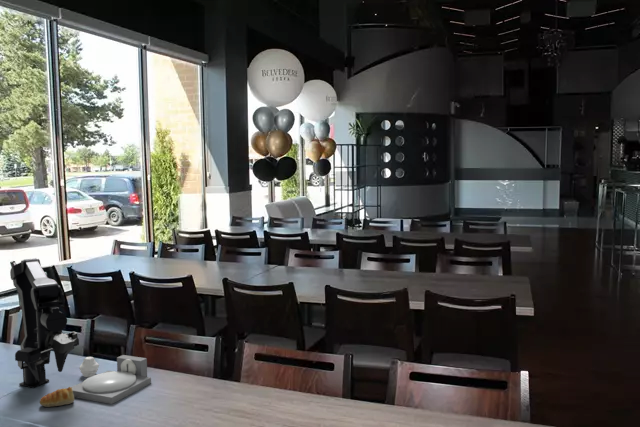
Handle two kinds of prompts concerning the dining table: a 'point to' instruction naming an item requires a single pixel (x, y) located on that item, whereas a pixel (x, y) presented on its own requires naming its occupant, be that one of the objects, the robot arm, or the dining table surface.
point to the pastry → (58, 397)
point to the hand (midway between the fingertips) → (49, 375)
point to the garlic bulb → (89, 367)
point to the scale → (115, 381)
